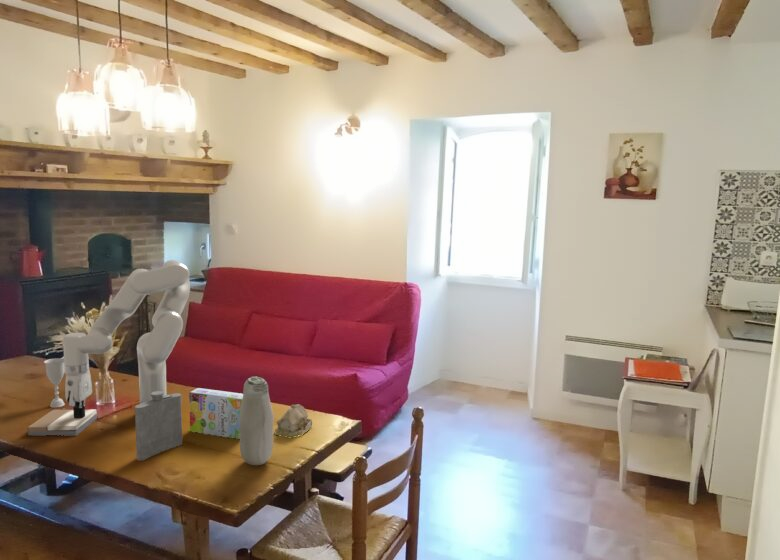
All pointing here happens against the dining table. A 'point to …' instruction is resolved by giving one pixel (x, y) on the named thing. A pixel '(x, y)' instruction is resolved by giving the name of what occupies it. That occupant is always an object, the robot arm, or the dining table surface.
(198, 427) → the snack box
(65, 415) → the pale plank
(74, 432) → the floor sample board
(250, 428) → the pale grey bottle
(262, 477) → the dining table surface
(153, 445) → the hip flask
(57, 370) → the chalice
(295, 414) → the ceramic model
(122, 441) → the dining table surface
